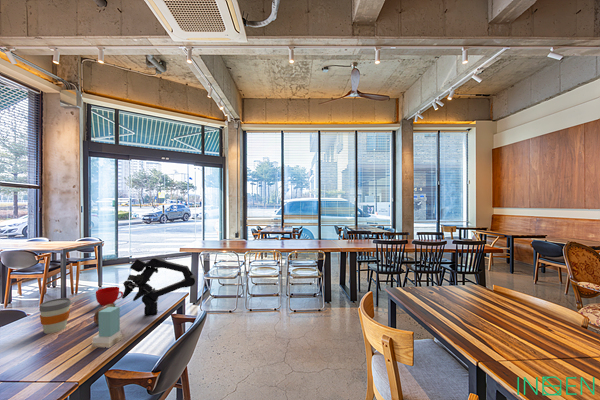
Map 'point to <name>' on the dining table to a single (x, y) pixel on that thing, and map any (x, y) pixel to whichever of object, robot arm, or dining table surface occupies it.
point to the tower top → (105, 338)
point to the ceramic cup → (108, 295)
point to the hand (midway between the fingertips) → (127, 299)
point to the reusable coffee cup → (54, 314)
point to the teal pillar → (109, 321)
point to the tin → (96, 316)
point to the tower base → (108, 343)
